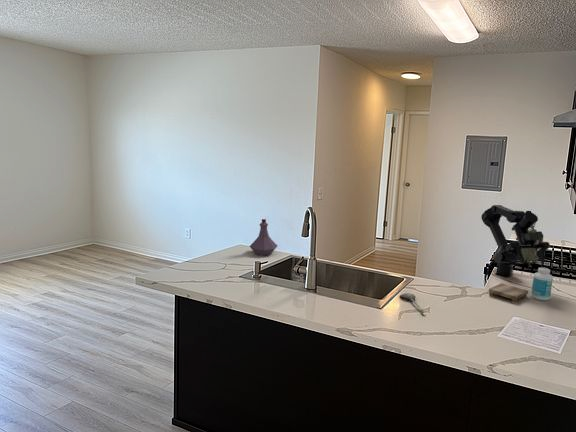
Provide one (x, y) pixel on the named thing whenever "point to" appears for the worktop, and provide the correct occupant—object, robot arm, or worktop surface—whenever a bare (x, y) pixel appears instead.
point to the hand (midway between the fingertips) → (533, 263)
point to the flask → (263, 241)
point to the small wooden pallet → (508, 292)
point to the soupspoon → (411, 297)
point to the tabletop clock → (531, 250)
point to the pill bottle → (542, 284)
